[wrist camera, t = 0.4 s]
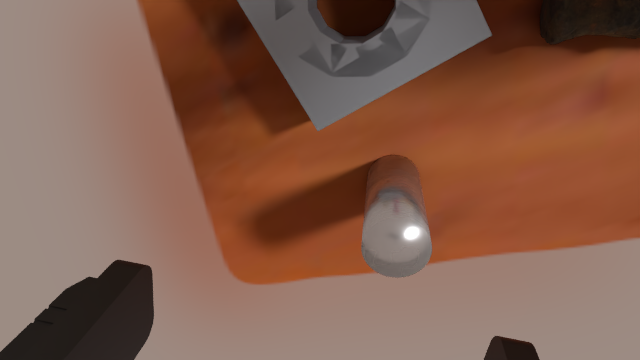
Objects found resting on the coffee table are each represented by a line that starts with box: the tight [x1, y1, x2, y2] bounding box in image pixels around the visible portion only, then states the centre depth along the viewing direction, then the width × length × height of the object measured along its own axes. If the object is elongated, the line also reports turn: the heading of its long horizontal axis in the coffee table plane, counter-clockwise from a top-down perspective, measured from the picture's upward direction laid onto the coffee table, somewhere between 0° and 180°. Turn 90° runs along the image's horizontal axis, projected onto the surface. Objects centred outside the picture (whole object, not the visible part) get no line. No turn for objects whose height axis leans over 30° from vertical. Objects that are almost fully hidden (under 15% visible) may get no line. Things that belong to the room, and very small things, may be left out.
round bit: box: [361, 155, 432, 277], centre depth 30 cm, size 4×4×10 cm
